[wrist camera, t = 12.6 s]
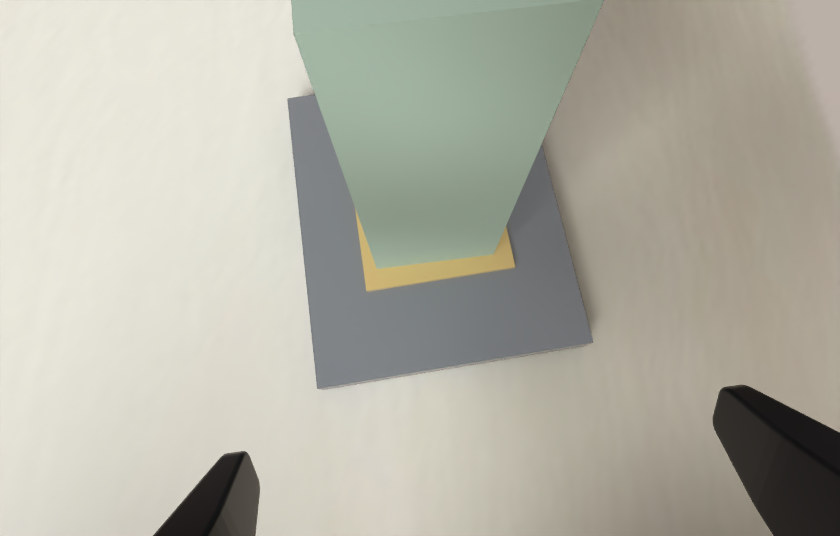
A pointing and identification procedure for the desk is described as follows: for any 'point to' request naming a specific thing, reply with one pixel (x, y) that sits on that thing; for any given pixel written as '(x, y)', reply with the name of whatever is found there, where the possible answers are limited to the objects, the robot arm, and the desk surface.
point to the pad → (426, 281)
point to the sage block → (438, 110)
